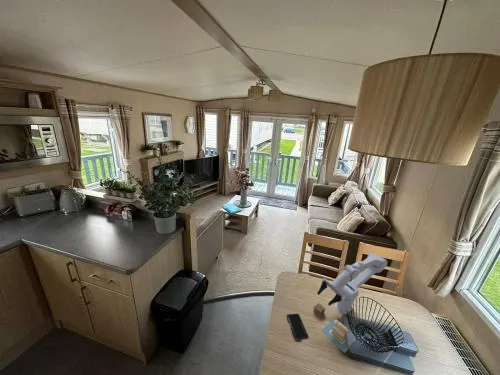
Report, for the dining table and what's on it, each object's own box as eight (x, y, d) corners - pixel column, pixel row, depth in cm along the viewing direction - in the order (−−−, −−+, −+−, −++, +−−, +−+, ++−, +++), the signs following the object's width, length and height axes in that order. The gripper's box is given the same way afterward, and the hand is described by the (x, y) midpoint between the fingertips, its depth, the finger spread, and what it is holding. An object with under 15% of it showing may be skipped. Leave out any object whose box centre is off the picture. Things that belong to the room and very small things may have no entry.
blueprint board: (335, 319, 124) (335, 318, 124) (358, 338, 113) (358, 337, 113) (320, 331, 116) (320, 330, 116) (344, 353, 105) (344, 352, 105)
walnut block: (317, 308, 130) (319, 302, 129) (324, 314, 127) (325, 308, 126) (313, 312, 128) (314, 306, 126) (319, 317, 124) (320, 311, 123)
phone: (295, 339, 110) (286, 314, 124) (295, 341, 110) (285, 316, 124) (309, 338, 111) (298, 313, 125) (309, 339, 111) (298, 314, 126)
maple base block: (337, 327, 119) (339, 321, 117) (347, 335, 114) (349, 330, 113) (331, 332, 115) (332, 327, 114) (341, 341, 111) (343, 336, 109)
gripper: (328, 270, 124) (312, 286, 121) (350, 289, 113) (333, 307, 110) (330, 275, 128) (314, 291, 125) (351, 294, 117) (334, 312, 114)
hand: (323, 299), depth 118 cm, fingers open, 7 cm apart
